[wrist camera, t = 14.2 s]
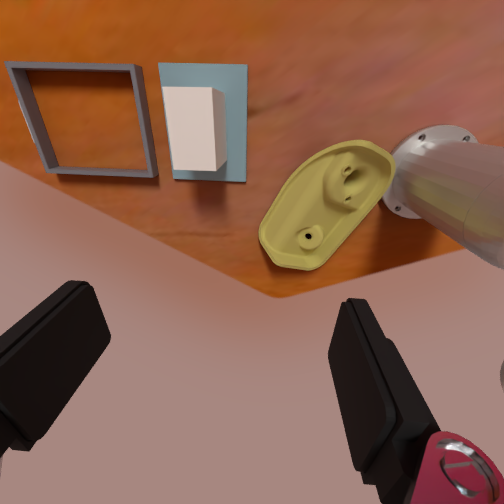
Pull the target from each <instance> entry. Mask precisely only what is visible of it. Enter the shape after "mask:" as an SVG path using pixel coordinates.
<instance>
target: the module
mask: <svg viewBox="0 0 504 504" xmlns="http://www.w3.org/2000/svg"><path fill="white" fill-rule="evenodd" d="M162 89H163V96H164V103H165V111H166V118H167V125H168V133H169V140H170V147H171V154H172V162H173V169H174V170H199V171H217V170H218V169H219V168H220V167H221V166H222V165H223V164H224V162H225V161H226V160H227V141H226V109H225V93H223V92H221V91H219V90H217V89H214V88H212V87H162Z"/></svg>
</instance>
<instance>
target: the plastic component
mask: <svg viewBox="0 0 504 504" xmlns="http://www.w3.org/2000/svg"><path fill="white" fill-rule="evenodd" d="M395 169H396V165H395V160H394V158H393V156H392V155H391V154H390V153H388V152H387V151H385V150H383V149H382V148H380V147H378V146H377V145H375V144H374V143H372V142H369V141H365V140H352V141H346V142H342V143H338V144H336V145H333V146H330V147H328V148H326V149H324V150H322V151H320V152H318V153H317V154H315V155H314V156H312V157H311V158H309V159H308V160H307V161H305V162H304V163H303V164H302V165H300V166H299V167H298V168H297V170H296V171H295V172H294V173H293V174H292V175H291V176H290V177H289V179H288V180H287V181H286V183H285V184H284V185H283V187H282V189H281V190H280V192H279V194H278V195H277V197H276V199H275V200H274V202H273V204H272V205H271V207H270V209H269V210H268V212H267V214H266V215H265V217H264V219H263V220H262V222H261V224H260V227H259V240H260V243H261V244H262V246H263V248H264V249H265V251H266V252H267V254H268V255H269V257H270V258H271V260H272V261H273V262H274V263H275V264H276V265H278V266H280V267H287V268H294V269H300V270H307V271H308V270H314V269H316V268H318V267H320V266H322V265H323V264H324V263H325V262H326V261H327V260H328V259H329V257H330V256H331V255H332V254H333V253H334V252H335V251H336V249H337V248H338V247H339V246H340V245H341V244H342V243H343V241H344V240H345V239H346V238H347V237H348V236H349V235H350V233H351V232H352V231H353V230H354V229H355V228H356V227H357V225H358V224H359V223H360V222H361V221H362V220H363V219H364V217H365V216H366V215H367V214H368V213H369V212H370V211H371V209H372V208H373V207H374V206H375V205H376V204H377V202H378V201H379V200H380V199H381V197H382V196H383V195H384V193H385V192H386V191H387V189H388V187H389V186H390V184H391V182H392V180H393V177H394V174H395ZM346 198H347V199H346ZM307 233H309V234H311V236H312V238H311V239H307V238H306V237H305V234H307Z"/></svg>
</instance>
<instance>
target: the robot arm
mask: <svg viewBox="0 0 504 504" xmlns="http://www.w3.org/2000/svg"><path fill="white" fill-rule="evenodd" d="M419 136H420V138H419ZM418 138H419V139H418ZM391 155H392V156H393V158H394V160H395V165H396V169H395V174H394V177H393V180H392V182H391V184H390V186H389V187H388V189H387V191H386V192H385V193H384V195H383V196H382V197H381V199H382V201H383V202H384V204H385V205H386V206H387V207H388V208H389V209H390V210H391V211H392V212H393V213H395V214H397V215H399V216H401V217H405V218H409V219H421V218H423V219H424V220H426V221H427V222H428V223H430V224H431V225H433V226H434V227H436V228H437V229H439V230H440V231H442V232H443V233H444V234H446V235H447V236H449V237H450V238H452V239H453V240H455V241H456V242H458V243H459V244H460V245H462V246H463V247H465V248H466V249H468V250H469V251H471V252H472V253H474V254H475V255H477V256H478V257H480V258H481V259H483V260H484V261H486V262H488V263H490V264H491V265H493V266H496V267H498V268H501V269H504V147H500V146H493V145H486V144H479V143H478V141H477V139H476V138H475V137H474V135H473V134H471V133H470V132H469V131H468V130H466V129H464V128H461V127H459V126H452V125H436V126H430V127H427V128H424V129H421V130H419V131H417V132H415V133H413V134H411V135H410V136H408V137H407V138H406V139H404V140H403V141H402V142H401V143H400V144H399V145H398V146H397V147H396V148H395V149H394V150H393V151H392V152H391ZM110 339H111V334H110V331H109V329H108V326H107V323H106V320H105V318H104V315H103V312H102V310H101V307H100V305H99V302H98V299H97V296H96V294H95V291H94V288H93V287H92V286H90V284H89V283H88V282H85V281H73V280H71V281H68V282H66V283H64V284H63V285H62V286H61V287H60V288H58V289H57V290H56V291H55V292H54V293H52V294H51V295H50V296H49V297H47V298H46V299H45V300H44V301H43V302H41V303H40V304H39V305H38V306H36V307H35V308H34V309H33V310H32V311H30V312H29V313H28V314H27V315H25V316H24V317H23V318H22V319H21V320H19V321H18V322H17V323H16V324H15V325H13V326H12V327H11V328H10V329H8V330H7V331H6V332H5V333H4V334H2V335H1V336H0V475H1V466H2V457H3V454H4V453H5V451H6V450H7V449H8V447H10V448H11V449H12V450H20V451H30V450H31V448H32V447H33V445H34V444H35V442H36V441H37V440H39V439H41V438H42V437H43V436H44V435H45V434H46V432H47V431H48V430H49V428H50V427H51V425H52V424H53V423H54V421H55V420H56V418H57V417H58V415H59V414H60V413H61V411H62V410H63V408H64V407H65V405H66V404H67V403H68V401H69V400H70V398H71V397H72V396H73V394H74V393H75V391H76V390H77V388H78V387H79V386H80V384H81V383H82V381H83V380H84V378H85V377H86V376H87V374H88V373H89V371H90V370H91V368H92V367H93V366H94V364H95V363H96V362H97V360H98V358H99V357H100V356H101V354H102V353H103V352H104V350H105V349H106V347H107V346H108V344H109V343H110ZM328 359H329V364H330V369H331V372H332V377H333V381H334V385H335V389H336V394H337V398H338V403H339V407H340V411H341V415H342V419H343V424H344V428H345V432H346V437H347V441H348V445H349V449H350V453H351V457H352V462H353V465H354V468H355V470H356V471H360V472H361V476H362V480H363V483H364V484H369V485H376V488H377V492H378V495H379V499H380V502H381V503H382V504H504V478H503V476H502V474H501V473H500V471H499V470H498V469H497V467H496V466H495V464H494V463H493V461H492V460H491V459H490V458H489V457H488V456H487V455H486V454H485V453H484V452H483V451H482V450H481V449H480V448H478V447H477V446H476V445H474V444H473V443H472V442H471V441H469V440H467V439H465V438H464V437H462V436H460V435H458V434H455V433H451V432H448V431H441V430H440V428H439V426H438V424H437V422H436V420H435V419H434V417H433V415H432V413H431V411H430V409H429V407H428V406H427V404H426V402H425V400H424V398H423V396H422V394H421V393H420V391H419V389H418V387H417V385H416V383H415V381H414V380H413V378H412V376H411V374H410V372H409V370H408V368H407V367H406V365H405V363H404V361H403V359H402V357H401V355H400V354H399V352H398V350H397V348H396V346H395V345H394V343H393V342H392V341H391V340H390V339H388V338H386V337H385V335H384V333H383V331H382V330H381V328H380V325H379V324H378V322H377V320H376V318H375V316H374V314H373V312H372V310H371V308H370V306H369V304H368V302H367V301H366V300H365V299H355V298H348V299H347V301H346V302H342V303H341V307H340V310H339V314H338V318H337V321H336V325H335V329H334V332H333V336H332V339H331V343H330V347H329V351H328ZM500 381H501V385H502V388H503V391H504V361H503V363H502V366H501V370H500Z"/></svg>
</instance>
